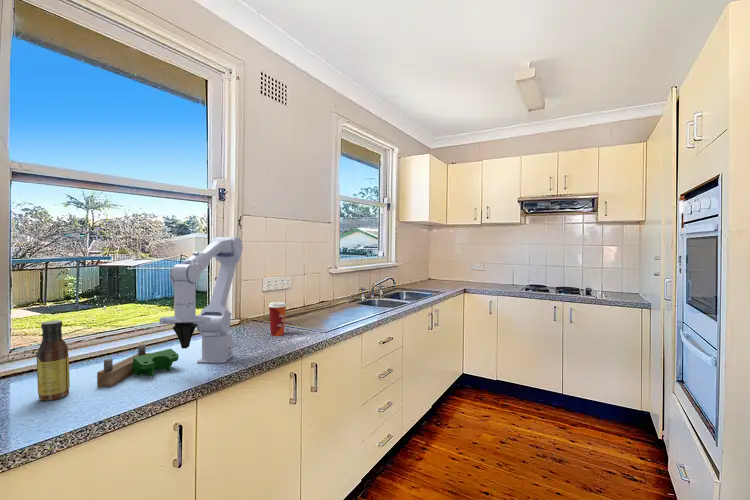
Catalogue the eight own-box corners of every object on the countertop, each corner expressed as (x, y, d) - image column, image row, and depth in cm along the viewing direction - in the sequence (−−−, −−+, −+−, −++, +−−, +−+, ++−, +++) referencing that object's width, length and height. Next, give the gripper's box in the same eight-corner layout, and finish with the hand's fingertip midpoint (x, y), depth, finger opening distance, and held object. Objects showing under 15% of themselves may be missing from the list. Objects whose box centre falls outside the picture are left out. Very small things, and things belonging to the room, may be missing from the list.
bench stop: (150, 365, 120) (150, 344, 119) (111, 386, 102) (111, 361, 101) (138, 365, 120) (138, 344, 119) (97, 386, 102) (97, 361, 101)
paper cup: (283, 336, 157) (283, 304, 157) (266, 336, 157) (266, 304, 157) (288, 332, 165) (288, 301, 164) (271, 332, 165) (271, 301, 164)
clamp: (146, 391, 109) (136, 369, 105) (137, 382, 112) (127, 360, 108) (184, 366, 118) (176, 345, 113) (174, 359, 121) (166, 338, 117)
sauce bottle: (51, 392, 97) (50, 318, 97) (75, 391, 98) (75, 318, 98) (30, 403, 91) (29, 324, 91) (56, 402, 91) (55, 323, 91)
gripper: (153, 305, 106) (153, 351, 107) (202, 305, 106) (203, 351, 107) (166, 301, 113) (167, 344, 114) (213, 301, 113) (213, 344, 114)
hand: (185, 347), depth 111 cm, fingers closed
